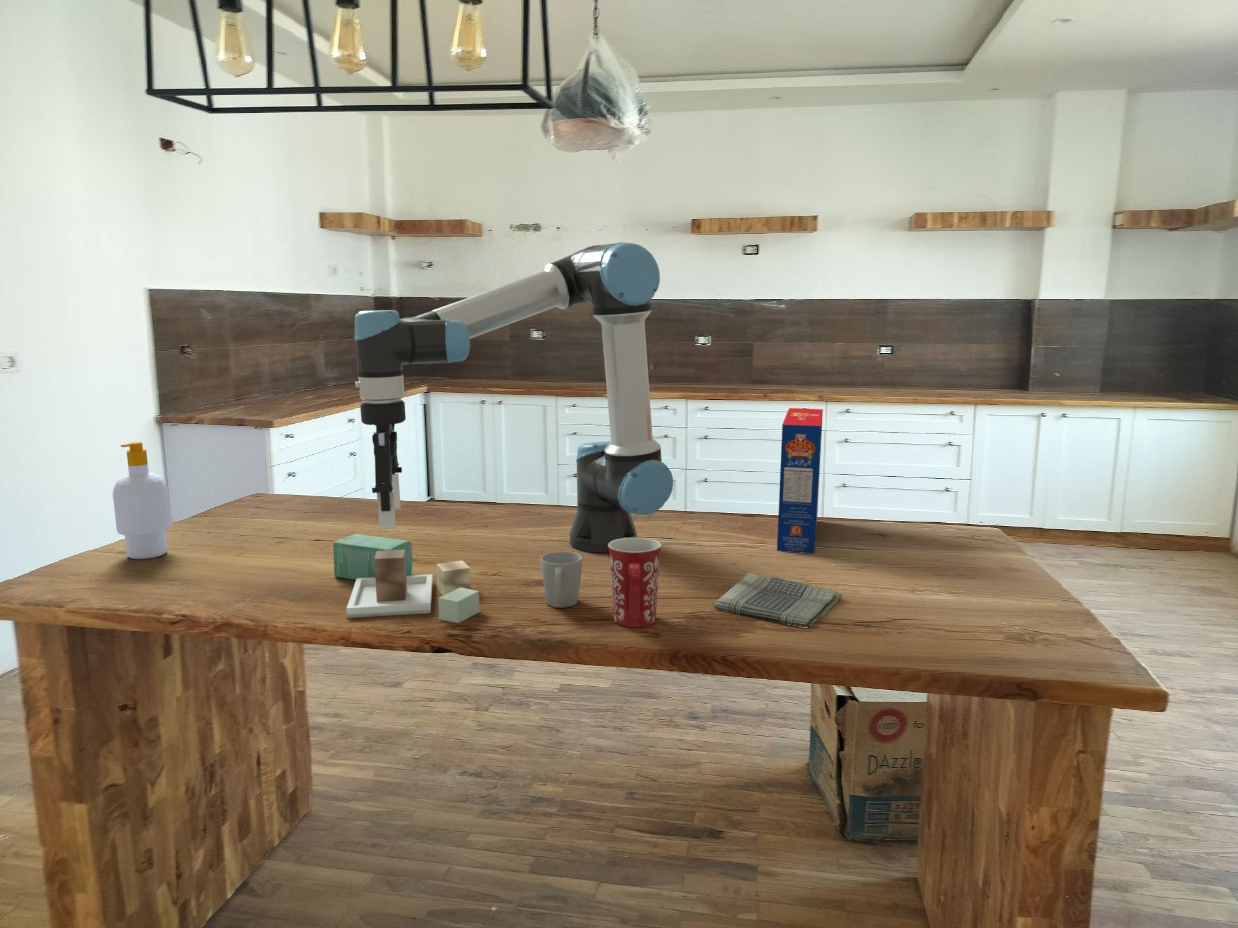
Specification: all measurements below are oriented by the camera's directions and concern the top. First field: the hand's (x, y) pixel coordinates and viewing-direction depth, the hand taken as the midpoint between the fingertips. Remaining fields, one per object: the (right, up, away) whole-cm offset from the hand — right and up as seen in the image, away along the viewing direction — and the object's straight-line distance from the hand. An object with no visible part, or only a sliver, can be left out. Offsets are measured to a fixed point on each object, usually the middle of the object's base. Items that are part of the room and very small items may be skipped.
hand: (390, 518), depth 153 cm
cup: (+31, -16, +1) cm, 34 cm away
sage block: (+13, -17, -5) cm, 22 cm away
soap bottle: (-59, -10, +29) cm, 67 cm away
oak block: (+10, -14, +8) cm, 19 cm away
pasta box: (+83, -7, +46) cm, 95 cm away
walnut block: (0, -14, +3) cm, 15 cm away
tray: (0, -15, +3) cm, 15 cm away
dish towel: (+70, -16, +2) cm, 72 cm away
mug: (+43, -18, -8) cm, 47 cm away
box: (-7, -13, +16) cm, 22 cm away
